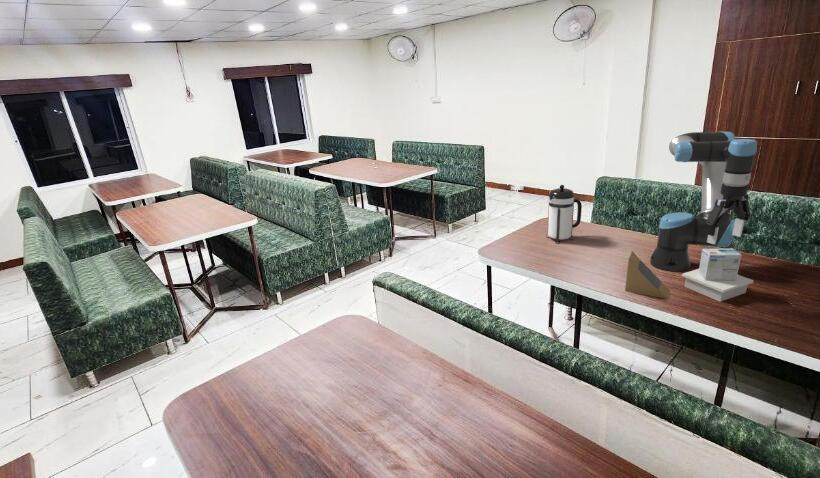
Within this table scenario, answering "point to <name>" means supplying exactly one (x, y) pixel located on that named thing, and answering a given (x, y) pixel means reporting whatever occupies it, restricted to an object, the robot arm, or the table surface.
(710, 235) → the robot arm
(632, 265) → the sandwich container
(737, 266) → the light bulb box
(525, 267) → the table surface
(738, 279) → the podium
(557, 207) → the coffee press
